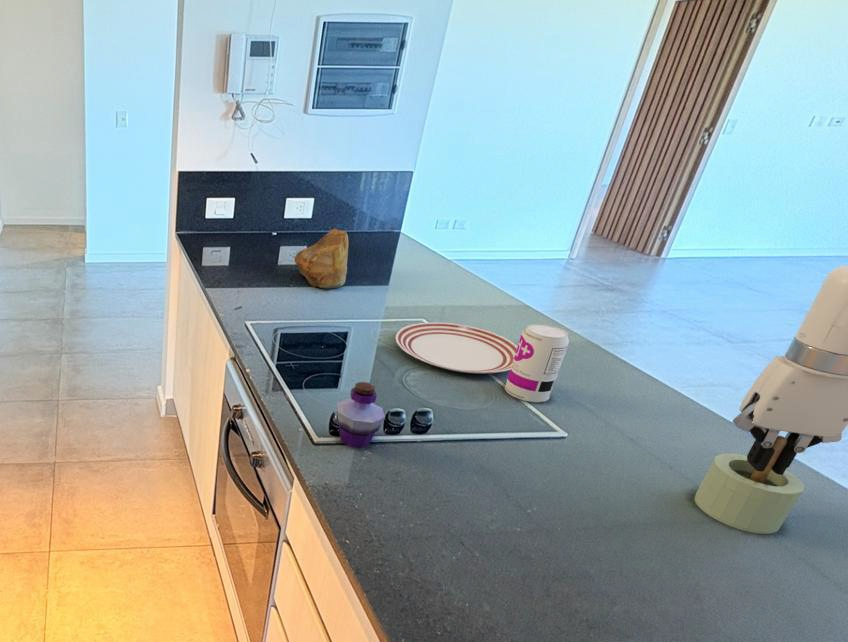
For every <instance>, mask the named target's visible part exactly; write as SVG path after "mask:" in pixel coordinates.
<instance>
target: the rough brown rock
mask: <svg viewBox="0 0 848 642" xmlns="http://www.w3.org/2000/svg"><path fill="white" fill-rule="evenodd" d="M348 255H349V235H348V232H347V231H345V230H340V229H338V228H332V229H331V230H330V231H329V232H326V234H324V235H323V236H322V238H320V239H319V240H318V241H317V242H315V243H314V244H313V245H311V246H308V247H306V248H303V249H301V250H299V251H298V252H297V253H296V255H295V256H294V263H295V264H296V267H297V268H298V270H299V274H301V275H302V276H304V277H305V279H306V281H307V282H308V283H309V285H311V286H312V287H313V288H316V287H319V288H320V289H325V290H326V289H338V288H340V287H342V286H344V285H345V284H346V280H347V274H348V258H349V256H348Z"/></svg>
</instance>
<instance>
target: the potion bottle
mask: <svg viewBox="0 0 848 642" xmlns="http://www.w3.org/2000/svg"><path fill="white" fill-rule="evenodd" d="M349 395H350V398H346V399H344V400H341V401H338V402H337V403H336V414H337V416H336V417H337V422H338V428H339V429H338V430H339V439H340V442H341V443H343V444H344V445H346V446H348V447H350V448H359V449H363V448H365V447H366V446H368V445H370V443H371V442H372V439H373V438H374V436H375V434H376V432H379V429H380V428H381V426H382V424H383V422H384V420H385V418H386V416H385V413H384V410H383V407H381V406H379V405H377V404H376V401H377V396H378V395H377V392H376V390H375V386H374V385H373V384H371V383H370V382H366V381H358V382H356V383H355V385H354V387H353V388H351V390H350V394H349Z"/></svg>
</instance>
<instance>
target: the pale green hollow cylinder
mask: <svg viewBox="0 0 848 642" xmlns="http://www.w3.org/2000/svg"><path fill="white" fill-rule="evenodd" d="M753 471H754V468H753V467H752V465H751V464H750V463H749V462H748V461H747V455H745V454H739V453H722V454H717V455H716V456H715V457H714V458H713V460H712V461H711V464H710V466H709V467H708V470H707V472H706V473H705V475H704V477H703V479H702V481H701V483H700V485H699V487H698V488H697V491H696V493H695V495H694V502H695V504H696V506H697V507H698V508H699V509H700V510H701V511H703V512H704V513H705V514H707V516H709V517H711V518H712V519H714V520H716V521H718V522H720V523H723V524H725V525H726V526H728V527H729V526H730V527H732V528H735V529H738V530H741V531H745V532H749V533H754V534H762V535H769V534H770V535H771V534H775V533H777V532H778V531H779V530H780V528H781V527H782V526H783V524H784V522H785V521H786V519H787V518H788V516H789V514H790V513H791V511H792V509H793V508H794V506H795V505H796V503H797V501H798V500H799V498H800V497H801V495H802V493H803V492H804V491H805V485H804V483H803V481H802V480H800V478H799V477H798V476H796V475H795V474H794V473H792V472H790V471H788V470H787V469H786V470H785V472H784V474H783V475H779V474H776V473H775V472H774V471H773V470H771V471H770V473H769V475H768V476H767V478H766V480H765V482H764V483H763V484H761V483H757V482H754V481H752V480H749V479H747V478H750V476H751V475H752V473H753Z"/></svg>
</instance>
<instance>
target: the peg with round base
mask: <svg viewBox="0 0 848 642" xmlns="http://www.w3.org/2000/svg"><path fill="white" fill-rule="evenodd" d="M786 443H787V440H786V438H785V436H783V435H778V436H777V438H776V440H775V442H774V444H773V446H772V448H773V449H774V450H775V452H774V454H773V456H772V458H771V459H770V461H769V463H768V465H767V466H766V468H765V470H764V471H762V472H761V471H756V470H755V469H754V471H753V473H752V475H751V476H750V478H747V479H749V480H752V481H754V482H757V483H761V484H763V483H764V482H765V480H766V478H767V476H768V475H769V473H770V471H771V470H772V468H773V466H774V464H775V463H776V461H777V459H778V457H779V456H780V454H781V452H782V450H783V449H784V447H785V445H786Z"/></svg>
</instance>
